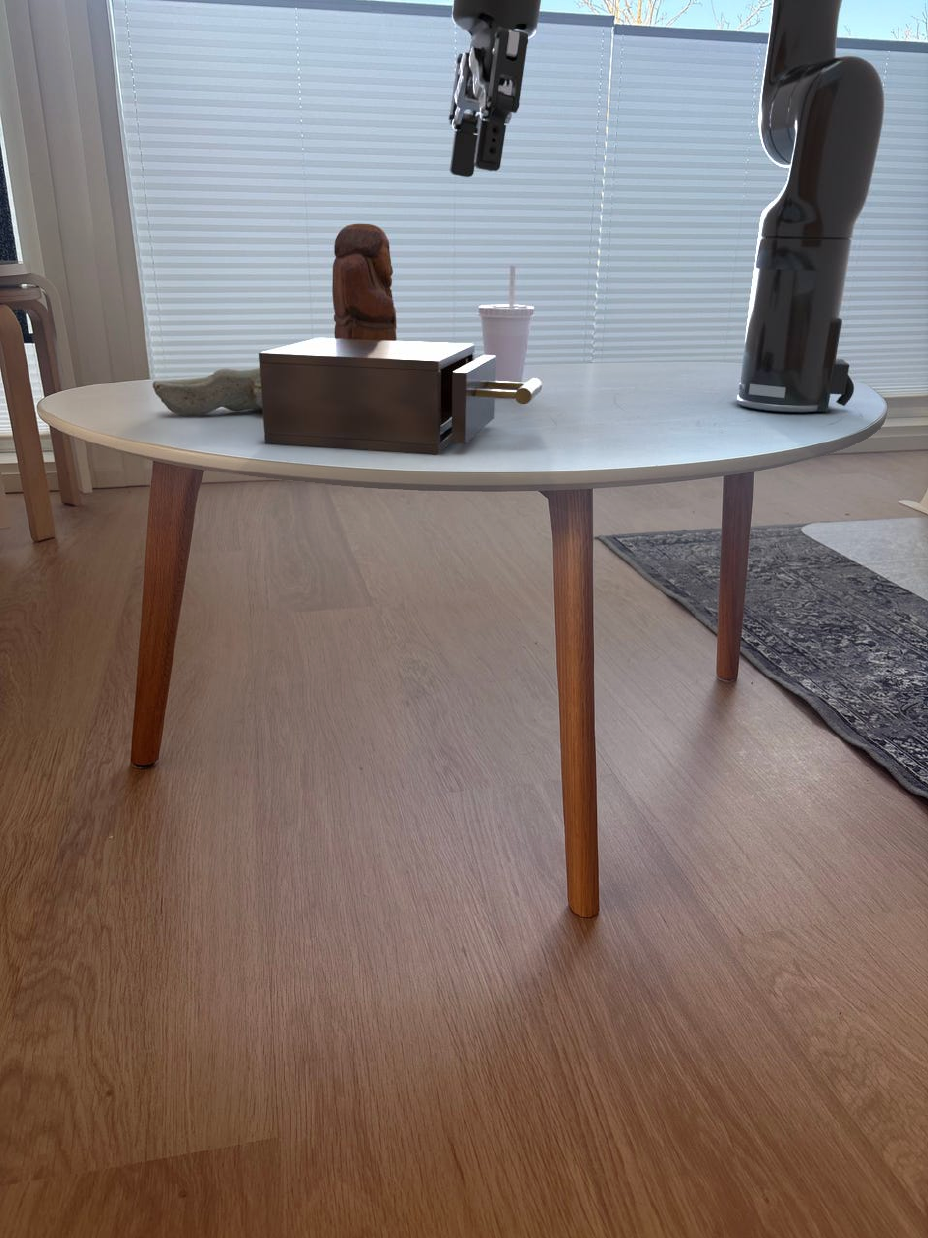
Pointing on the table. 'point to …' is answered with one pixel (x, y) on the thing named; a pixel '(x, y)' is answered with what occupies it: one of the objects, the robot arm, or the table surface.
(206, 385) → the sculpture
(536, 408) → the table surface
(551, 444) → the table surface
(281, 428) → the cabinet
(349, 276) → the wooden figurine
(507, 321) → the smoothie
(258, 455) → the table surface
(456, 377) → the drawer
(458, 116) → the robot arm
